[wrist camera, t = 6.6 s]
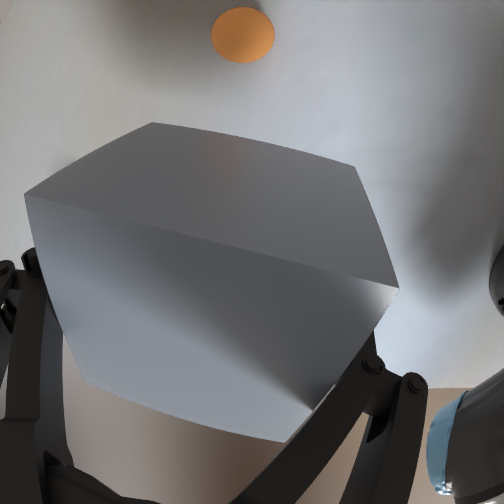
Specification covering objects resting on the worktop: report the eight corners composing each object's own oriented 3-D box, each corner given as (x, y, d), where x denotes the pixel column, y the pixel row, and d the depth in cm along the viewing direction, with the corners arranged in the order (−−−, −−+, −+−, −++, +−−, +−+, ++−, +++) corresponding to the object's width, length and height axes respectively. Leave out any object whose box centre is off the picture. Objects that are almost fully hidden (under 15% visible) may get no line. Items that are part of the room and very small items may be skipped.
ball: (281, 16, 20) (275, 5, 16) (272, 67, 23) (264, 66, 19) (225, 10, 21) (207, 0, 16) (217, 60, 23) (198, 59, 19)
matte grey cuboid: (354, 166, 14) (399, 288, 7) (298, 315, 20) (285, 442, 12) (152, 122, 14) (24, 193, 7) (148, 275, 20) (84, 381, 13)
